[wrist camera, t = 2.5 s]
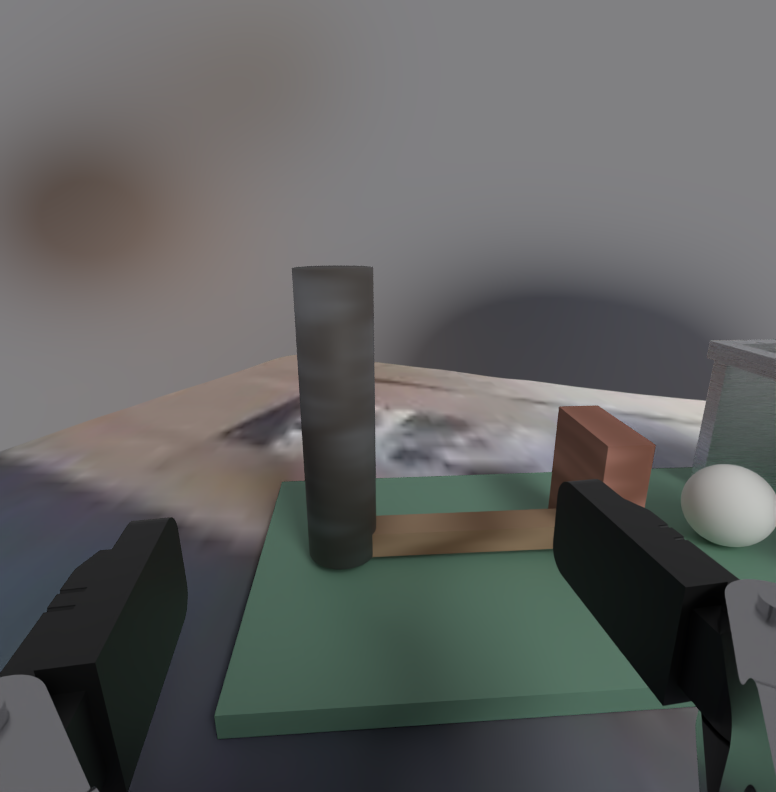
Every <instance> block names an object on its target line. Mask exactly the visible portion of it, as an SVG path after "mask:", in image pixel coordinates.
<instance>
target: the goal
mask: <svg viewBox="0 0 776 792" xmlns="http://www.w3.org/2000/svg"><path fill="white" fill-rule="evenodd" d="M707 358H709V359H712V360H715V361H714V366H713V371H712V375H711V380H710V386H709V391H708V395H707V400H706V405H705V410H704V414H703V419H702V424H701V429H700V434H699V439H698V444H697V449H696V453H695V458H694V463H693V468H692V473H691V476H692V475H693V474H695V473H696V472H697V471H699V470H701V469H703V468H705V467H708V466H712V465H718V464H731V465H737V466H741V467H744V468H747V469H749V470H751V471H753V472H755V473H756V474H758V475H759V476H761V477H762V478H763V479H764V480H765V481H766V482H767V483H768V484H769V485H770V486H771V487H776V339H771V340H716V341H710V345H709V350H708V355H707Z"/></svg>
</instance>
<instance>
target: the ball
mask: <svg viewBox="0 0 776 792" xmlns="http://www.w3.org/2000/svg"><path fill="white" fill-rule="evenodd" d="M681 507H682V511H683V514H684V517H685V518H686V520H687V522H688V523H689V525H690V526H691V527H692V528H693V529H694V530H695V531H696V532H697V533H698V534H699V535H700V536H702V537H703V538H705V539H707V540H709V541H711V542H713V543H715V544H718V545H722V546H727V547H745V546H750V545H753V544H756V543H758V542H760V541H762V540H764V539H765V538H766V537H768V536H769V535H770V534H771V533H772V531H773V530H774V529H775V527H776V494H775V492H774V490H773V489H772V487H771V486H770V485H769V484H768V483H767V482H766V481H765V480H764V479H763V478H762V477H761V476H759V475H758V474H756V473H755V472H753V471H751V470H749V469H747V468H744V467H741V466H737V465H731V464H718V465H712V466H708V467H705V468H703V469H701V470H699V471H697V472H696V473H695V474H693V475H692V476H691V477H690V478H689V479H688V481H687V482H686V483H685V485H684V488H683V490H682V494H681Z"/></svg>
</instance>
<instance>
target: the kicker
mask: <svg viewBox="0 0 776 792" xmlns="http://www.w3.org/2000/svg"><path fill="white" fill-rule="evenodd" d="M292 278H293V293H294V311H295V327H296V343H297V359H298V375H299V392H300V408H301V424H302V440H303V456H304V473H305V489H306V505H307V521H308V537H309V553H310V556H311V558H312V559H313V561H314V562H316V563H317V564H319V565H320V566H323V567H326V568H329V569H338V570H341V569H351V568H355V567H358V566H361V565H363V564H365V563H366V562H368V561H369V560H370V559H371V558H372V557H385V556H407V555H429V554H451V553H472V552H494V551H516V550H538V549H553V537H554V526H555V516H556V505H557V495H558V489H559V487H560V485H561V484H562V483H563V482H567V481H578V480H589V479H599V480H601V481H602V482H604V483H605V484H606V485H607V486H609V487H610V488H611V489H612V490H614V491H615V492H616V493H617V494H619V495H620V496H621V497H622V498H624V499H626V500H629V501H631V502H633V503H635V504H637V505H639V506H642V507H644V508H645V502H646V497H647V491H648V486H649V480H650V474H651V469H652V463H653V457H654V452H655V446H656V445H655V444H653V443H652V442H651V441H649V440H648V439H646V438H645V437H643V436H642V435H640V434H639V433H637V432H636V431H634V430H633V429H631V428H630V427H628V426H627V425H626V424H624V423H623V422H621V421H620V420H618V419H617V418H615V417H614V416H612V415H611V414H609V413H608V412H606V411H605V410H603V409H602V408H600V407H599V406H564V407H559V413H558V422H557V432H556V441H555V450H554V459H553V468H552V477H551V487H550V496H549V505H548V509H531V510H506V511H481V512H456V513H432V514H407V515H382V516H376V463H375V384H374V313H373V312H374V310H373V307H374V305H373V267H367V266H307V267H296V268H292Z"/></svg>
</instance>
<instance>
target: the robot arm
mask: <svg viewBox="0 0 776 792" xmlns="http://www.w3.org/2000/svg"><path fill="white" fill-rule="evenodd" d="M553 554H554V559H555V562H556V565H557V568H558V570H559V572H560V573H561V575H562V576H563V578H564V579H565V580H566V581H567V583H568V584H569V585H570V587H571V588H572V589H573V591H574V592H575V593H576V594H577V596H578V597H579V598H580V600H581V601H582V602H583V603H584V605H585V606H586V607H587V609H588V610H589V611H590V613H591V614H592V615H593V616H594V618H595V619H596V620H597V622H598V623H599V624H600V625H601V627H602V628H603V629H604V631H605V632H606V633H607V634H608V636H609V637H610V638H611V640H612V641H613V642H614V644H615V645H616V646H617V647H618V649H619V650H620V651H621V653H622V654H623V655H624V656H625V658H626V659H627V660H628V662H629V663H630V664H631V666H632V667H633V668H634V669H635V671H636V672H637V673H638V675H639V676H640V677H641V678H642V680H643V681H644V682H645V684H646V685H647V686H648V687H649V689H650V690H651V691H652V693H653V694H654V695H655V697H656V698H657V699H658V700H659V702H660V703H661V704H662V706H667V705H673V704H679V703H684V702H690V701H692V702H693V703H694V705H695V706H696V707H697V708H698V709H699V710H698V715H697V720H696V744H697V760H698V776H699V792H776V583H773V582H768V581H764V580H756V579H742V580H740V579H738V578H737V577H736V576H734V575H733V574H732V573H731V572H729V571H728V570H727V569H725V568H724V567H723V566H721V565H720V564H719V563H718V562H716V561H715V560H714V559H712V558H711V557H710V556H708V555H707V554H706V553H705V552H703V551H702V550H701V549H699V548H698V547H697V546H696V545H694V544H693V543H692V542H690V541H689V540H685V539H684V536H683V535H681V534H680V533H679V532H677V531H676V530H675V529H673V528H672V527H671V528H669V527H668V524H667V523H666V522H664V521H663V520H662V519H660V518H659V517H658V516H657V515H655V514H654V513H653V512H651V511H650V510H648V509H646V508H644V507H642V506H639V505H637V504H635V503H633V502H631V501H629V500H626V499H624V498H622V497H621V496H620V495H619V494H617V493H616V492H615V491H614V490H612V489H611V488H610V487H609V486H607V485H606V484H605V483H604V482H602V481H601V480H599V479H589V480H578V481H567V482H563V483H562V484H561V485H560V487H559V489H558V495H557V505H556V516H555V526H554V537H553ZM187 599H188V592H187V582H186V576H185V569H184V563H183V557H182V551H181V545H180V539H179V533H178V527H177V524H176V521H175V520H174V518H172V517H171V518H160V519H149V520H139V521H131V522H130V523H129V524H128V525H127V527H126V528H125V530H124V531H123V533H122V534H121V536H120V538H119V539H118V541H117V542H116V544H115V545H114V547H113V548H112V549H110V550H100V551H98V552H97V553H96V554H95V555H93V556H92V557H91V558H89V559H88V560H87V561H85V562H84V563H83V564H81V565H80V566H79V567H77V568H76V569H75V570H74V571H73V573H72V574H71V576H70V577H69V578H68V580H67V581H66V583H65V584H64V585H63V587H62V588H61V590H60V594H57V595H56V596H55V598H54V599H53V601H52V602H51V603H50V605H49V606H48V608H47V612H45V613H43V614H42V616H41V617H40V619H39V620H38V621H37V623H36V624H35V626H34V627H33V628H32V630H31V631H30V633H29V634H28V635H27V637H26V638H25V639H24V641H23V642H22V644H21V645H20V646H19V648H18V649H17V651H16V652H15V653H14V655H13V656H12V657H11V659H10V660H9V662H8V663H7V664H6V666H5V667H4V669H3V670H2V671H1V673H0V792H128V790H129V787H130V783H131V780H132V777H133V774H134V771H135V768H136V765H137V762H138V759H139V756H140V753H141V750H142V747H143V744H144V741H145V738H146V735H147V732H148V729H149V726H150V723H151V720H152V717H153V714H154V711H155V708H156V705H157V702H158V699H159V696H160V693H161V689H162V686H163V683H164V680H165V677H166V674H167V671H168V668H169V665H170V662H171V659H172V656H173V653H174V650H175V647H176V644H177V641H178V638H179V635H180V632H181V629H182V626H183V623H184V620H185V616H186V610H187Z"/></svg>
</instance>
